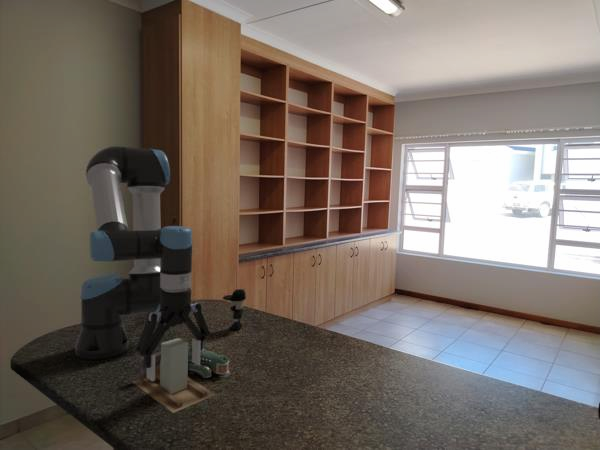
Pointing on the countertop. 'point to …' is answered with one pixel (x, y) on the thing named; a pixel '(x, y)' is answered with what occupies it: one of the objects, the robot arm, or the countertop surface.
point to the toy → (236, 307)
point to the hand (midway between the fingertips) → (174, 370)
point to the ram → (174, 365)
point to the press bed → (170, 401)
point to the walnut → (157, 373)
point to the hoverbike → (209, 364)
